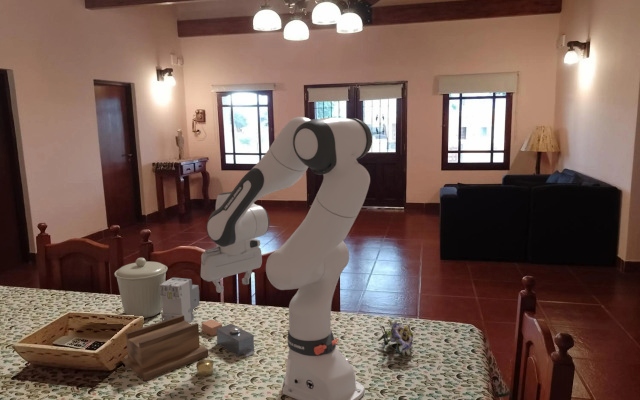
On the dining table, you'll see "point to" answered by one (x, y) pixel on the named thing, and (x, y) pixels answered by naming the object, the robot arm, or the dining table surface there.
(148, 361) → the stand
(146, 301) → the canister
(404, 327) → the passion flower
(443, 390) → the dining table surface
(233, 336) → the slider plate with knob
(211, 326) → the terracotta block
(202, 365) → the brass knob
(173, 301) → the circuit breaker
